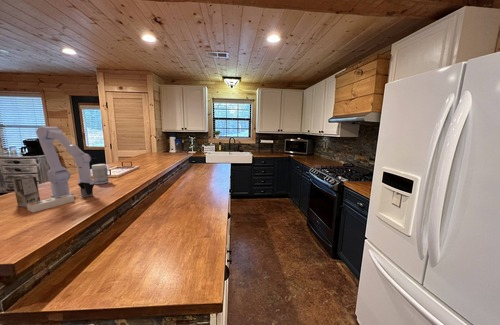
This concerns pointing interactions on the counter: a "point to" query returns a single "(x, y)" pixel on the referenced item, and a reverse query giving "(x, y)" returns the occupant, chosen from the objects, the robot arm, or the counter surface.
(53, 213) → the counter surface
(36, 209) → the power strip
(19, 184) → the coffee box
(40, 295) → the counter surface
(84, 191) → the charger
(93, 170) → the supplement tub
